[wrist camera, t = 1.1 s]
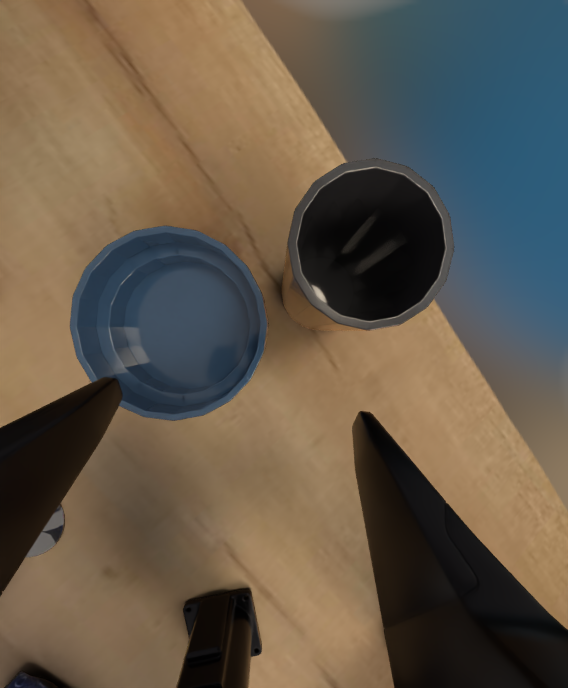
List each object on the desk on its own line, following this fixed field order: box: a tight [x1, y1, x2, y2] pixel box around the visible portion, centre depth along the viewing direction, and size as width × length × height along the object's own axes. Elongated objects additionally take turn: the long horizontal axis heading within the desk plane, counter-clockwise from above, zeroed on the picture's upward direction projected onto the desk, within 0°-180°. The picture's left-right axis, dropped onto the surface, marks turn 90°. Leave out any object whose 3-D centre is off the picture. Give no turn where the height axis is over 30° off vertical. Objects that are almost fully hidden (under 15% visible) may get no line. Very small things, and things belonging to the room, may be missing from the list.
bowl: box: [70, 226, 269, 421], centre depth 20 cm, size 14×14×4 cm
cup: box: [281, 158, 454, 331], centre depth 16 cm, size 7×7×12 cm
